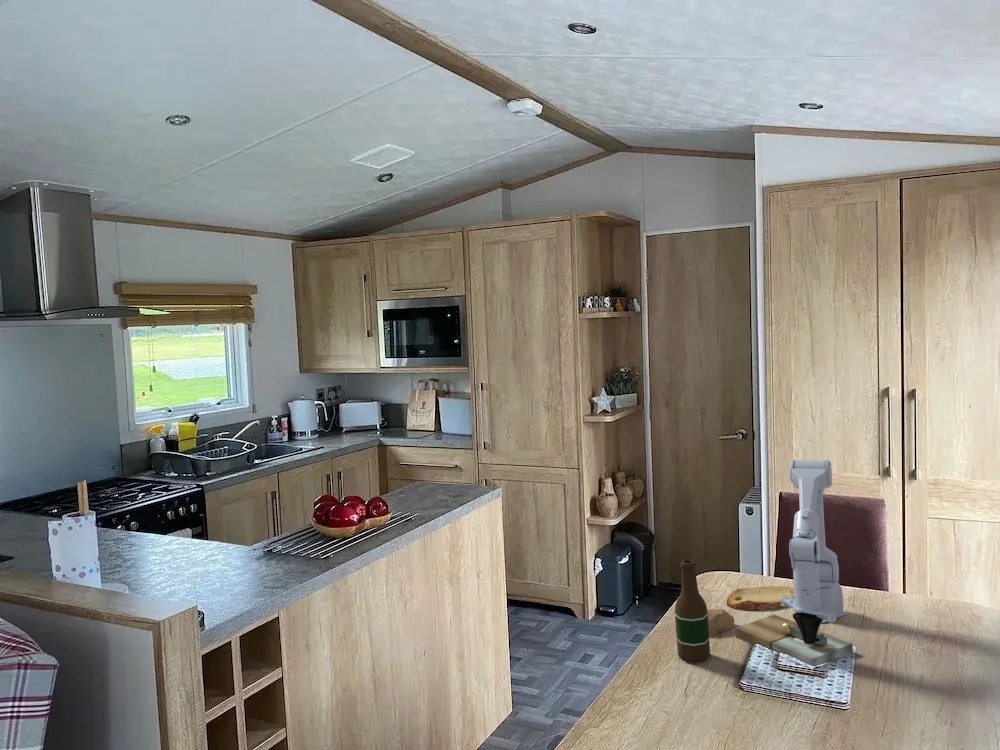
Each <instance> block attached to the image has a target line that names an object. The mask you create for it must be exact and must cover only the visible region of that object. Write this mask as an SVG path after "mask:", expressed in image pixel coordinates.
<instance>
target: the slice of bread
mask: <svg viewBox="0 0 1000 750" xmlns="http://www.w3.org/2000/svg"><path fill="white" fill-rule="evenodd" d="M784 597H790V598H795V596H794V587H790V586H788V585H787V586H785V585H784V586H783V585H775V586H774V585H773V586H772V585H769V586H768V585H766V586H758V587H756V586H754V587H748V588H747V587H745V588H736V589H735V590H733V591H731V592H730V593H729V595H728V597H727V599H726V607H728V608H731V609H733V610H740V611H741V610H742V611H743V610H744V611H749V612H761V611H771V610H778V609H780V608H784V607H783V606H781V598H784ZM786 607H787V606H786ZM786 607H785V608H786ZM787 608H788V607H787Z"/></svg>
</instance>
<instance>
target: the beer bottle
mask: <svg viewBox="0 0 1000 750" xmlns="http://www.w3.org/2000/svg"><path fill="white" fill-rule="evenodd" d="M696 563H697V562H696V561H695V560H692V559H684V560H682V561H680V565H679V567H681V588H680V589H681V590H680V594H679V595H678V598H677V599H676V603H675V604H674V616H675V617H674V619H675V633H676V634H675V635H676V644H677V645H676V647H677V648H676V649H677V656H678V657H679V659H681V660H682V661H683V662H684V661H686V662H685V663H690V662H691V664H698V663H699V662H700V663H704V662H706V661H708V660H709V658H710V656H711V645H710V642H711V641H710V636H709V626H708V612H707V609H708V607H707V604H706V602H705V599H704V598H703V597H702V595H701V593H700V592H699V588H698V581H697V580H698V579H697V575H696V574H697V573H696V566H697V564H696Z"/></svg>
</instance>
